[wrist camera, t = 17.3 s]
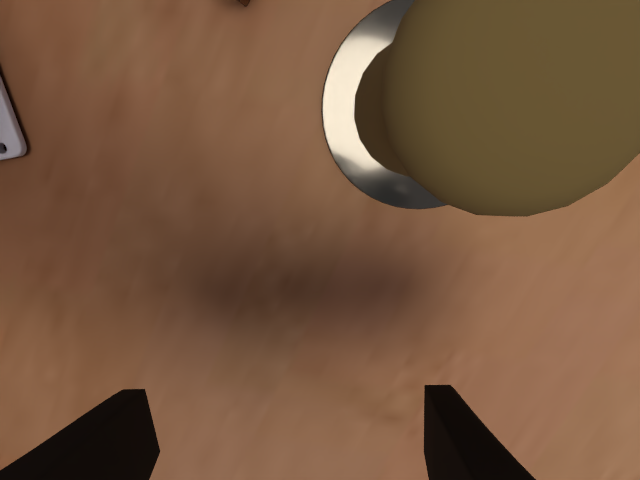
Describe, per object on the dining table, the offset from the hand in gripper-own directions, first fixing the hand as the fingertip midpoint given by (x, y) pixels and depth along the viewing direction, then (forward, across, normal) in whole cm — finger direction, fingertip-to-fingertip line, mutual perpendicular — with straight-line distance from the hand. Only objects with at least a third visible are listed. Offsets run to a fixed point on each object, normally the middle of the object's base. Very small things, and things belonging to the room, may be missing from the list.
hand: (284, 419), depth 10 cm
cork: (+10, -5, -8) cm, 14 cm away
